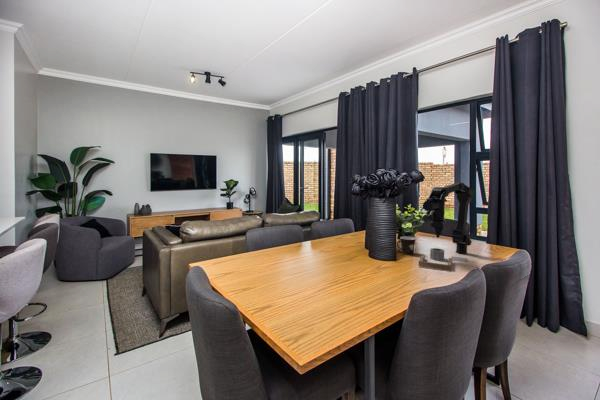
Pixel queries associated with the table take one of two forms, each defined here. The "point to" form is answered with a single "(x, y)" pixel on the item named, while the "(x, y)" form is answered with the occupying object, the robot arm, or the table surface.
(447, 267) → the corral
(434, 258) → the tumbler
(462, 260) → the felt coaster
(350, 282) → the table surface
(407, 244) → the coffee mug
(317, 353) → the table surface
